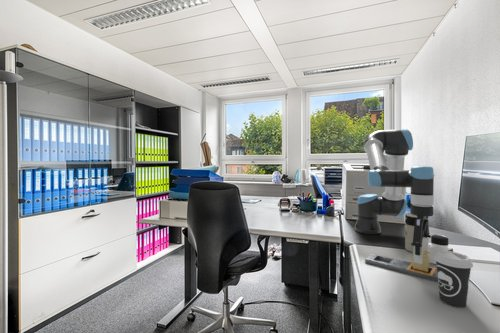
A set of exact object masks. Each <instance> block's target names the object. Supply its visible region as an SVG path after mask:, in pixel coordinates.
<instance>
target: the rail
mask: <svg viewBox="0 0 500 333" xmlns="http://www.w3.org/2000/svg"><path fill="white" fill-rule="evenodd" d="M378 260H379V261H378ZM387 262H389V263H387ZM364 263H366V264H370V265H374V266H376V267H381V268H385V269H388V270H390V271H391V270H392V271H396V272H398V273H402V274H406V275H410V276H414V277H418V278H421V279H425V280H429V281H432V282H436V283H438V274H437V267H432V266H430V274H428V273H424V272H421V271H417V270H413V261H411V262H410V261H406V260H401V259H397V258H394V257H389V256H384V255H380V254H375V253H374V252H373V253H370V255H368V256H367V257H366V258H365V259H364Z"/></svg>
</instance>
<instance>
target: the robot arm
mask: <svg viewBox="0 0 500 333" xmlns="http://www.w3.org/2000/svg"><path fill="white" fill-rule="evenodd" d="M413 148H414V139H413V134H412V132H411V131H410V130H409V129H401V128H400V129H399V128H398V129H386V130H385V129H384V130H382V129H381V130H376V131H374V132H372V133H370V134H369V135H368V136H367V137H366V138H365V140H364V141H363V150H364V152H365V153H366V155H367V160H368V164H369V169H370V170H368V171H367V184H368V186H370V187H376V188H384V192H382V194H381V196H379V195H378V194H376V193H366V194H361V195H358V197H357V220H356V222H355V225H354V231H355V232H358V233H360V234H366V235H378V234H381V232H382V228H381V225H380V222H379V219H378V218H379V216H382V217H383V216H386V217H403V216H404V215H406V212H407V209H408V206H407V205H408V201H407V198H406V197H405V196H404V194H403V193H402V190H403V188H410V195H409V196H408V198H409V199H410V204H411V205H409V206H410V211H409V213H411V214H413V215H416V216H417V218H416V219H415V220H414V221H415V222H414V234H413V243H411V245H413V246H414V262H415V263H419V264H422V254H423V251H427V252H428V248H429V245H430V244H429V240H430V239H431V236H432V234H431V235H430V227H429V217H433V216H434V207H433V206H434V205H435V204H434V200H435V199H434V196H435V195H434V189H435V188H434V186H435V184H434V178H435V172H434V168H433V167H432V166H426V165H425V166H423V165H421V166H419V165H418V166H411V168H410V169H407V170H406V169H405V158H406V156H408V155H409V152H410V151H412V150H413ZM385 156H387V159H386V157H385ZM416 242H418V243H416Z"/></svg>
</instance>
